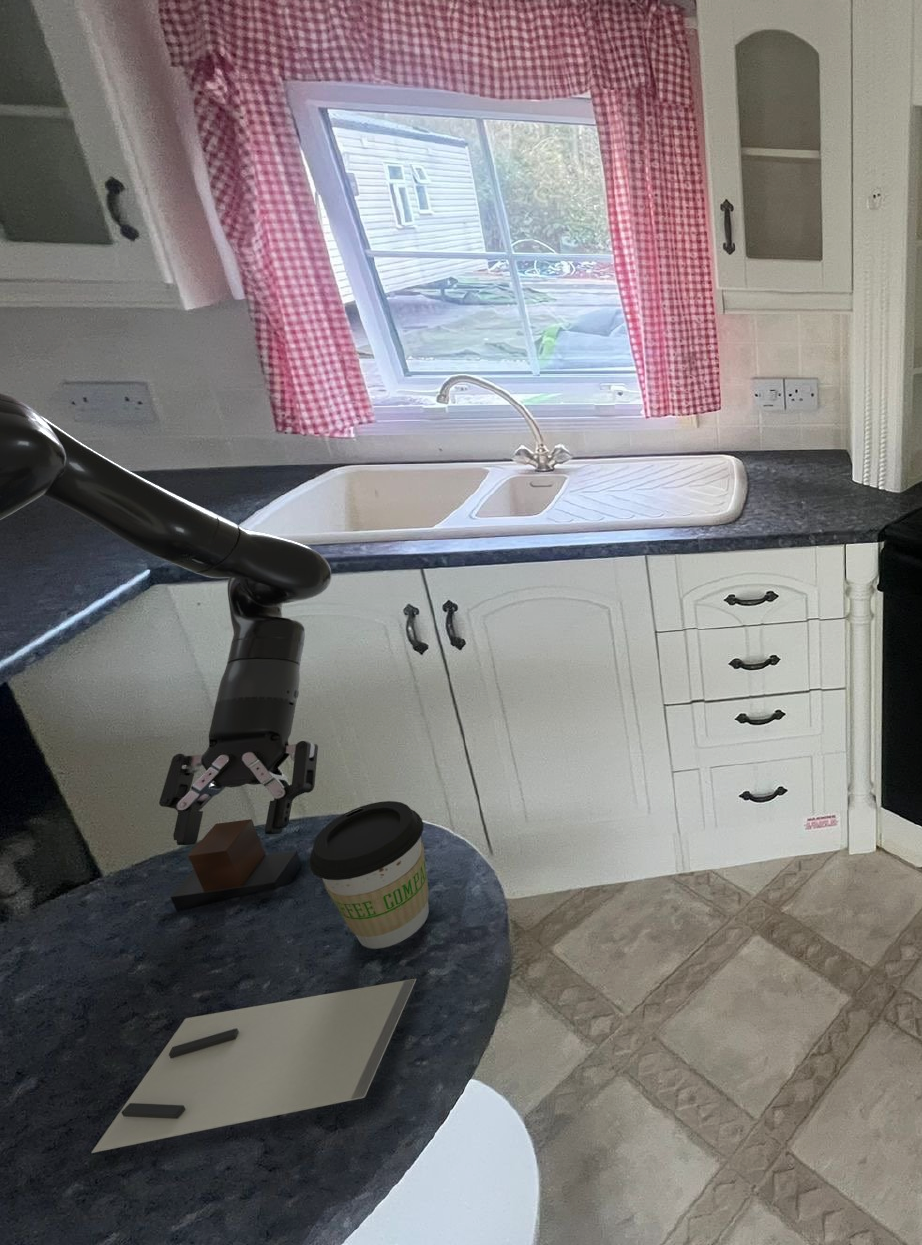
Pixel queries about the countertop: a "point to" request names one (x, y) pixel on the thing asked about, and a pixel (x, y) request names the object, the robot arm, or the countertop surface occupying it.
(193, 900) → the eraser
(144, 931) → the countertop surface
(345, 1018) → the board
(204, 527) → the robot arm
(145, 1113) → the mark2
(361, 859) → the coffee cup
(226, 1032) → the mark
